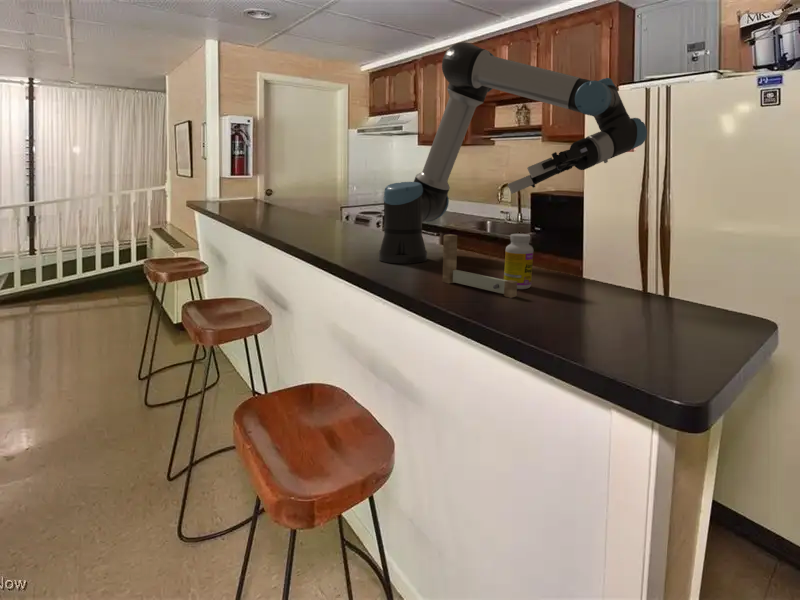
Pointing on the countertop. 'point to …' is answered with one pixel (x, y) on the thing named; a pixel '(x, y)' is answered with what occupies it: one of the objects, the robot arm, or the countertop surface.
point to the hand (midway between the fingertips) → (519, 181)
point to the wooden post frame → (451, 260)
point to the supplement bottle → (519, 261)
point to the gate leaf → (479, 281)
